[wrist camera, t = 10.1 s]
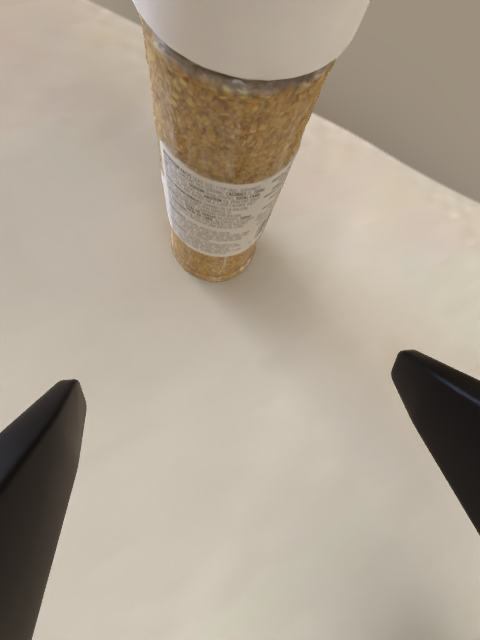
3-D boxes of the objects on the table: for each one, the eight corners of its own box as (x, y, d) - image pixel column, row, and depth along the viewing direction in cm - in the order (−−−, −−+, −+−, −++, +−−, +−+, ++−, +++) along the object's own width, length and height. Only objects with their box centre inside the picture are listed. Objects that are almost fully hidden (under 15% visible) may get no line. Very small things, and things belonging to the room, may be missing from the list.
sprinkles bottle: (202, 192, 18) (221, -325, 5) (269, 237, 18) (468, -163, 5) (153, 253, 17) (12, -208, 4) (225, 301, 17) (331, 4, 4)
